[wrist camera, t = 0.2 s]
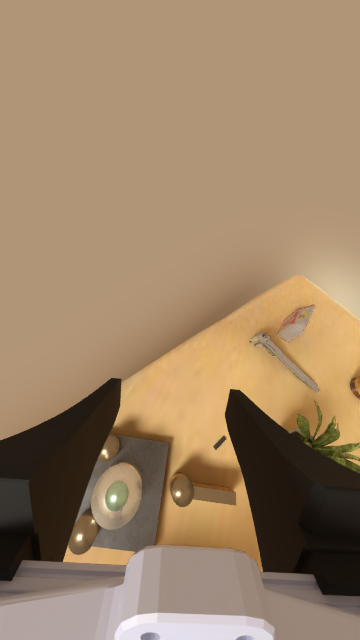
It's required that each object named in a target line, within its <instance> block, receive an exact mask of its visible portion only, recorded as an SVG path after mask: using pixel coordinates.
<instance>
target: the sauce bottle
mask: <svg viewBox="0 0 360 640" xmlns="http://www.w3.org/2000/svg"><path fill="white" fill-rule="evenodd" d="M351 389H352V391H353V393H354V394H355V395H356V396H357V397H358V398H359V399H360V376H359V377H357V378H354V379H353V380H352V381H351Z"/></svg>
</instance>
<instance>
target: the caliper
mask: <svg viewBox="0 0 360 640" xmlns="http://www.w3.org/2000/svg"><path fill="white" fill-rule="evenodd" d="M266 335H267V333H265V334H263V333H259V334H256V335H255V336H254V337H253V338H251V340H250V343H251V342H254V341H257V340H259V341H260V342H258V343H256V344H255V347H265V348H266V349H267V351H268V352H269V353H271V355H272V356H276V357H277V358H278V359H280V360H281V361H282V362H283V363H284V364H285V365H286V366H287V367H288V368H289V369H290V370H291V371H292V372H294V373H295V374H296V375H297V376H298V377H299V378H300V379H301V380H302V381H303V382H304V383H305V384H306V385H307V386H309V387H310V388H311V389H314V390H315V391H316V392H317V393H318V392H319V388H317V385H316V384H315V383H314V382H313V381H312V380H311V379H310V378H309V377H308V376H307V375H306V374H304V373H303V372H302V371H301V370H300V369H299V368H298V367H297V366H296V365H295V364H294V363H293V362H292V361H290V360H289V359H288V358H287V357H286V356H285V355H284V354H283V353H282V351H281V350H280V349H279V348H278V347H277V346H276V345H275V344H274V343H273V342H272V341H271V340H270V339H269V338H270V337H271V336H266Z"/></svg>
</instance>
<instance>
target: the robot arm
mask: <svg viewBox="0 0 360 640" xmlns="http://www.w3.org/2000/svg"><path fill="white" fill-rule="evenodd" d="M120 397H121V379H117V378H111V379H110V380H108V381H107V382H106V383H105V384H103V385H102V386H101V387H99V389H97V390H96V391H94V392H93V393H92V394H90V395H89V396H88V397H86V398H85V399H83V400H82V401H80V402H79V403H77V404H76V405H74V406H73V407H71V408H69V409H68V410H66V411H64V412H63V413H61V414H59V415H57V416H56V417H54V418H51V419H49V420H48V421H45V422H43V423H41V424H39V425H37V426H35V427H33V428H30V429H28V430H26V431H24V432H21V433H19V434H16V435H14V436H11V437H9V438H6V439H3V440H0V640H360V473H358V472H356V471H354V470H352V469H350V468H347V467H345V466H343V465H341V464H340V463H338V462H336V461H334V460H332V459H330V458H329V457H327V456H325V455H323V454H322V453H320V452H318V451H316V450H315V449H313V448H312V447H310V446H308V445H307V444H305V443H304V442H302V441H301V440H299V439H298V438H296V437H295V436H293V435H292V434H291V433H289V432H288V431H286V430H285V429H284V428H282V427H281V426H280V425H278V424H277V423H276V422H275V421H274V420H272V419H271V418H270V417H269V416H268V415H266V414H265V413H264V412H263V411H262V410H261V409H260V408H259V407H257V406H256V405H255V404H254V403H253V402H252V401H251V400H250V399H249V398H248V397H247V396H246V395H245V394H244V393H242V392H241V391H240V390H234V389H230V393H229V398H228V403H227V407H226V412H225V418H226V423H227V428H228V432H229V435H230V438H231V441H232V444H233V447H234V450H235V453H236V456H237V459H238V462H239V465H240V468H241V471H242V474H243V478H244V482H245V486H246V490H247V494H248V499H249V503H250V508H251V512H252V516H253V521H254V526H255V531H256V536H257V541H258V546H259V551H260V556H261V562H262V567H263V572H259V568H258V565H257V562H256V561H254V560H253V559H252V558H251V557H250V556H249V555H248V554H247V553H246V552H244V551H239V550H235V549H230V548H212V547H193V546H175V545H155V546H146V547H145V548H143V549H141V550H139V551H137V552H136V553H134V554H133V555H132V556H131V558H130V560H129V562H128V564H127V565H111V564H90V563H70V562H63V559H64V556H65V552H66V549H67V546H68V543H69V540H70V537H71V534H72V531H73V528H74V525H75V522H76V519H77V516H78V513H79V509H80V507H81V504H82V501H83V498H84V495H85V492H86V489H87V486H88V484H89V481H90V478H91V475H92V473H93V470H94V467H95V464H96V462H97V460H98V457H99V455H100V453H101V451H102V449H103V446H104V444H105V442H106V440H107V438H108V436H109V433H110V431H111V429H112V427H113V425H114V422H115V420H116V417H117V414H118V411H119V408H120Z"/></svg>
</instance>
